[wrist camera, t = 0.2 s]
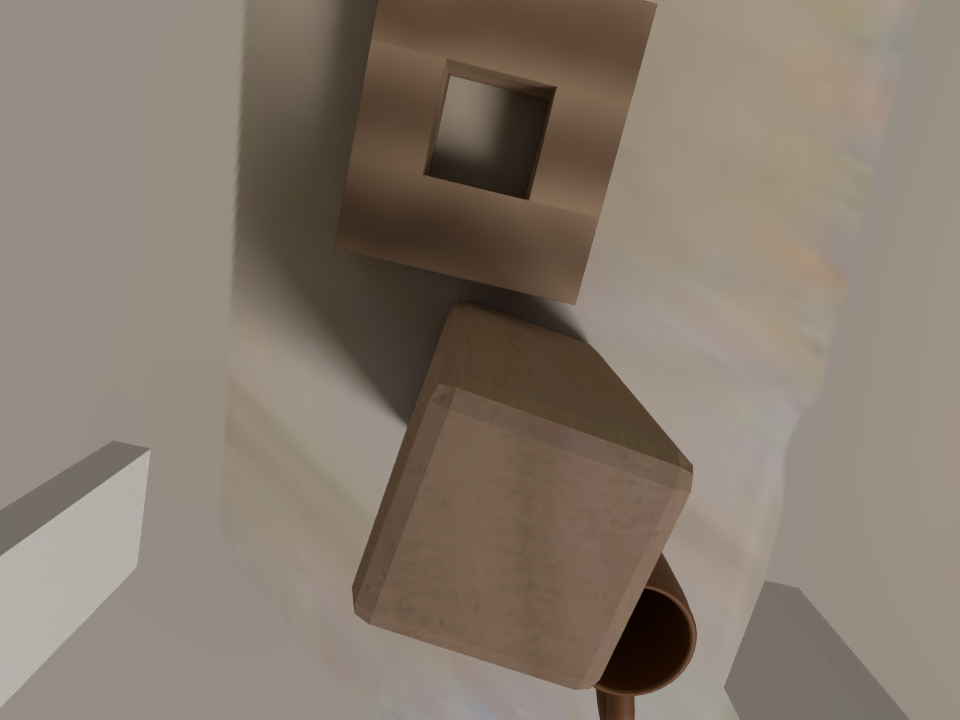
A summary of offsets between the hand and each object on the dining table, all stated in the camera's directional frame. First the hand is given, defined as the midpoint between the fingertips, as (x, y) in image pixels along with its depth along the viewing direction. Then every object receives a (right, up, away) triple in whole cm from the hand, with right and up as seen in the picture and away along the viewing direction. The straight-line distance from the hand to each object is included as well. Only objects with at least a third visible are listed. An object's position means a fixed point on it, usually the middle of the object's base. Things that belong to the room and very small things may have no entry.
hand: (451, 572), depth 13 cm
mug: (+9, -11, +31) cm, 34 cm away
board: (+1, +18, +24) cm, 30 cm away
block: (+2, +3, +28) cm, 28 cm away
